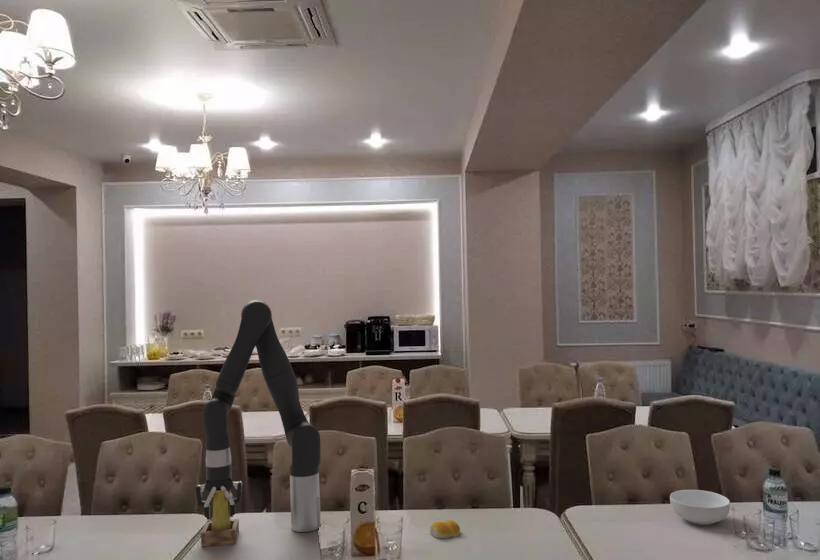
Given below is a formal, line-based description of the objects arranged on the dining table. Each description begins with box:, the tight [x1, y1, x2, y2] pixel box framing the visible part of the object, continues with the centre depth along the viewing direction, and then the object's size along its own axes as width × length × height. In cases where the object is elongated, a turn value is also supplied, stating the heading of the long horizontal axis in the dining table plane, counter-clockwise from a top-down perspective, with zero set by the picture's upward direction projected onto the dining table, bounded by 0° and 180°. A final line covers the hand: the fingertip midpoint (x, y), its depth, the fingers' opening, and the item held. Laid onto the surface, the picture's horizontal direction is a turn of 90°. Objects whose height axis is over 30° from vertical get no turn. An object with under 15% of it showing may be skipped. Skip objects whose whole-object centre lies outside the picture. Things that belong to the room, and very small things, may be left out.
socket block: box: [200, 518, 240, 548], centre depth 196 cm, size 10×10×4 cm
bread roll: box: [429, 519, 461, 539], centre depth 194 cm, size 8×9×4 cm
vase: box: [210, 490, 231, 531], centre depth 196 cm, size 6×6×14 cm
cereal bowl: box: [669, 489, 731, 526], centre depth 197 cm, size 17×17×7 cm
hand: (220, 517), depth 196 cm, fingers open, 6 cm apart
